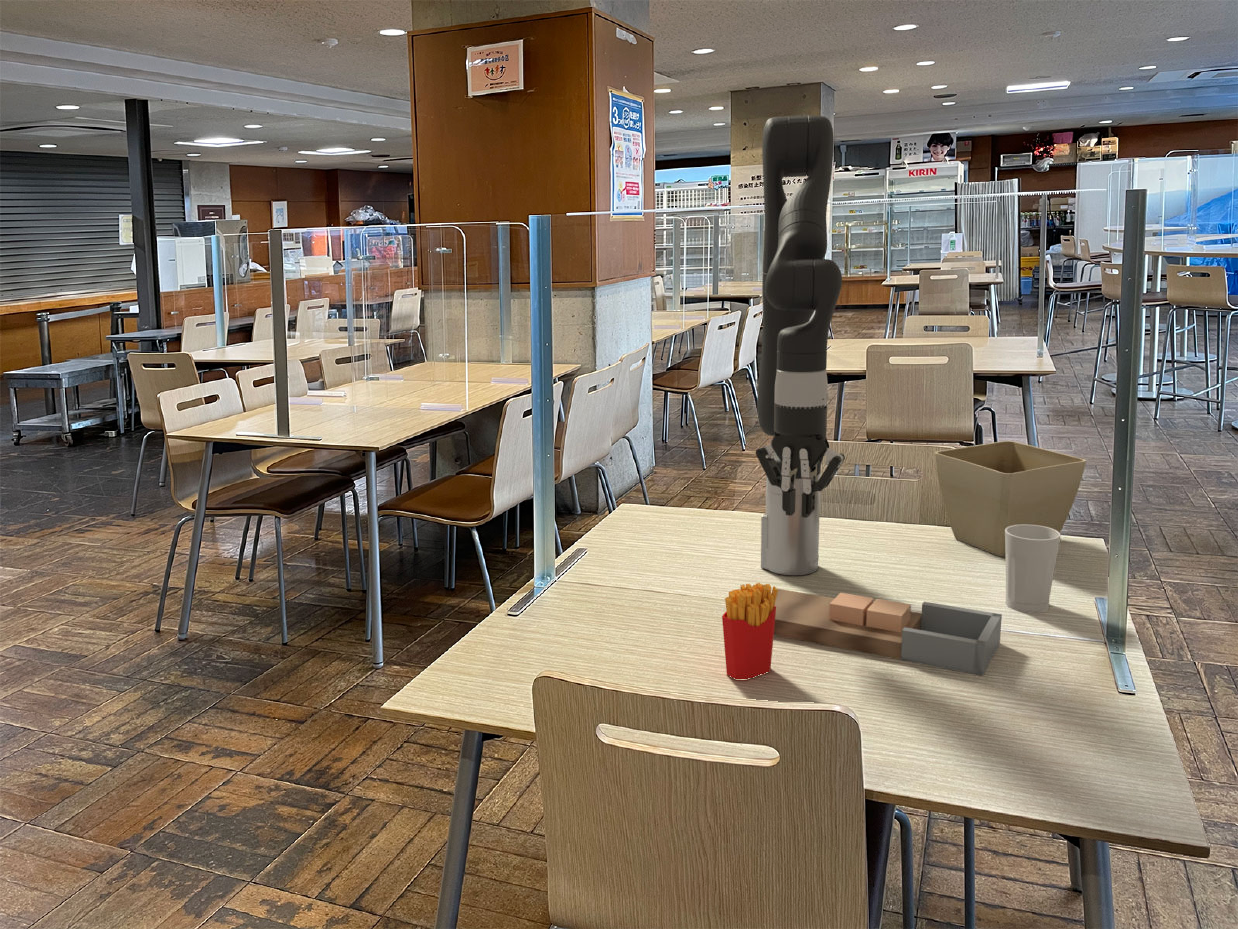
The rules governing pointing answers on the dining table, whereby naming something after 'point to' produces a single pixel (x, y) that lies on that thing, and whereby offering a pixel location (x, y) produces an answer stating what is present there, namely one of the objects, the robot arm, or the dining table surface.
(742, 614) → the french fries
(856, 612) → the tile
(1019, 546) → the cup
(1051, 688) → the dining table surface
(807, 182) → the robot arm
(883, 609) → the tile
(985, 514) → the flower pot
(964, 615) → the tray
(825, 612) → the board
